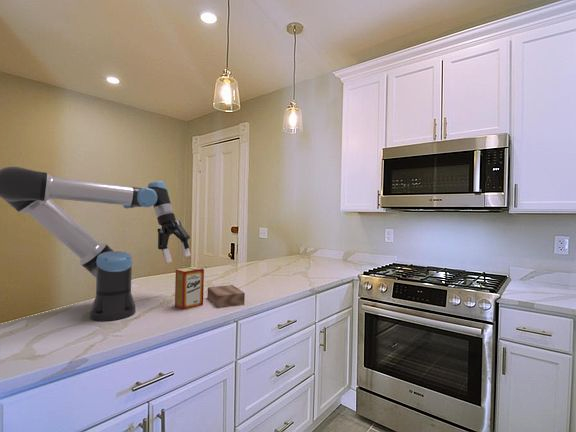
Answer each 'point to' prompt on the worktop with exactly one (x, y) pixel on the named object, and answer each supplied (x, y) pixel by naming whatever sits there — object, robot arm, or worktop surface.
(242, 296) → the block
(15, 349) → the worktop surface
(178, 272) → the orange cardboard box
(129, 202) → the robot arm
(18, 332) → the worktop surface
